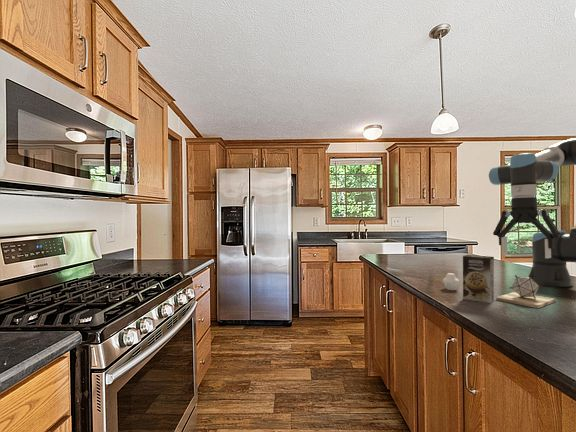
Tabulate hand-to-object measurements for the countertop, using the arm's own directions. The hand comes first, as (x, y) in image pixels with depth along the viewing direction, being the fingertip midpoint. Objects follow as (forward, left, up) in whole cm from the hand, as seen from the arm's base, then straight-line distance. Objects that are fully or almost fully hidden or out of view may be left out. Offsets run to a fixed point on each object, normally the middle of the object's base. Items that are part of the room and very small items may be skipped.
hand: (525, 256), depth 117 cm
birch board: (0, 0, -16) cm, 16 cm away
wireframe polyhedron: (0, 0, -15) cm, 15 cm away
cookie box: (+12, -11, -16) cm, 23 cm away
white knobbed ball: (+4, -26, -16) cm, 31 cm away
